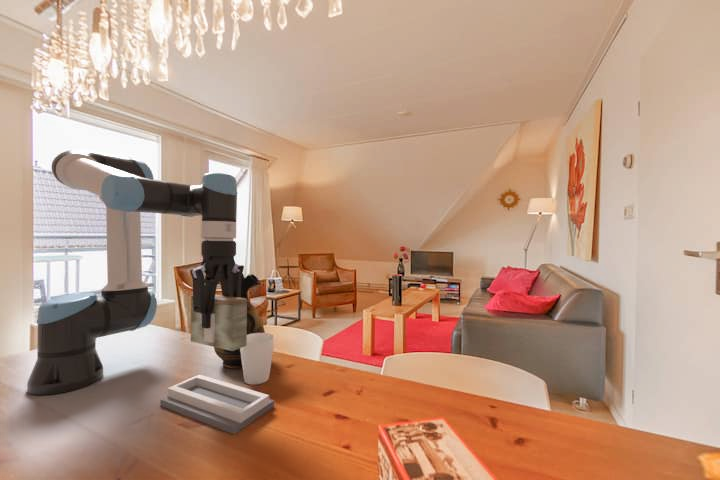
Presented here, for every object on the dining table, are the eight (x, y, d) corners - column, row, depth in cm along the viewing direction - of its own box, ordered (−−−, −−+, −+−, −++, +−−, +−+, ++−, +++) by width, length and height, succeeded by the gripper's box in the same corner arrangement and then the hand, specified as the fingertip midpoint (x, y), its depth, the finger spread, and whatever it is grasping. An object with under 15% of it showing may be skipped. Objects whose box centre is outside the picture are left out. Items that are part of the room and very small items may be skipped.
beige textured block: (190, 341, 76) (191, 295, 76) (205, 336, 80) (205, 293, 80) (232, 351, 70) (233, 301, 70) (246, 345, 74) (247, 298, 74)
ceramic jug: (270, 354, 109) (271, 267, 109) (257, 373, 94) (258, 272, 94) (220, 354, 108) (221, 266, 108) (198, 373, 93) (200, 271, 93)
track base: (160, 405, 75) (160, 391, 75) (204, 384, 86) (204, 372, 86) (233, 434, 65) (234, 417, 65) (273, 406, 75) (274, 392, 75)
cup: (263, 388, 84) (264, 343, 84) (233, 385, 86) (233, 341, 86) (278, 374, 93) (279, 333, 93) (250, 371, 95) (251, 331, 95)
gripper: (197, 240, 66) (196, 352, 66) (257, 240, 81) (256, 331, 81) (174, 239, 69) (173, 346, 69) (236, 239, 84) (235, 327, 84)
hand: (218, 338), depth 75 cm, fingers closed on beige textured block, 4 cm apart
